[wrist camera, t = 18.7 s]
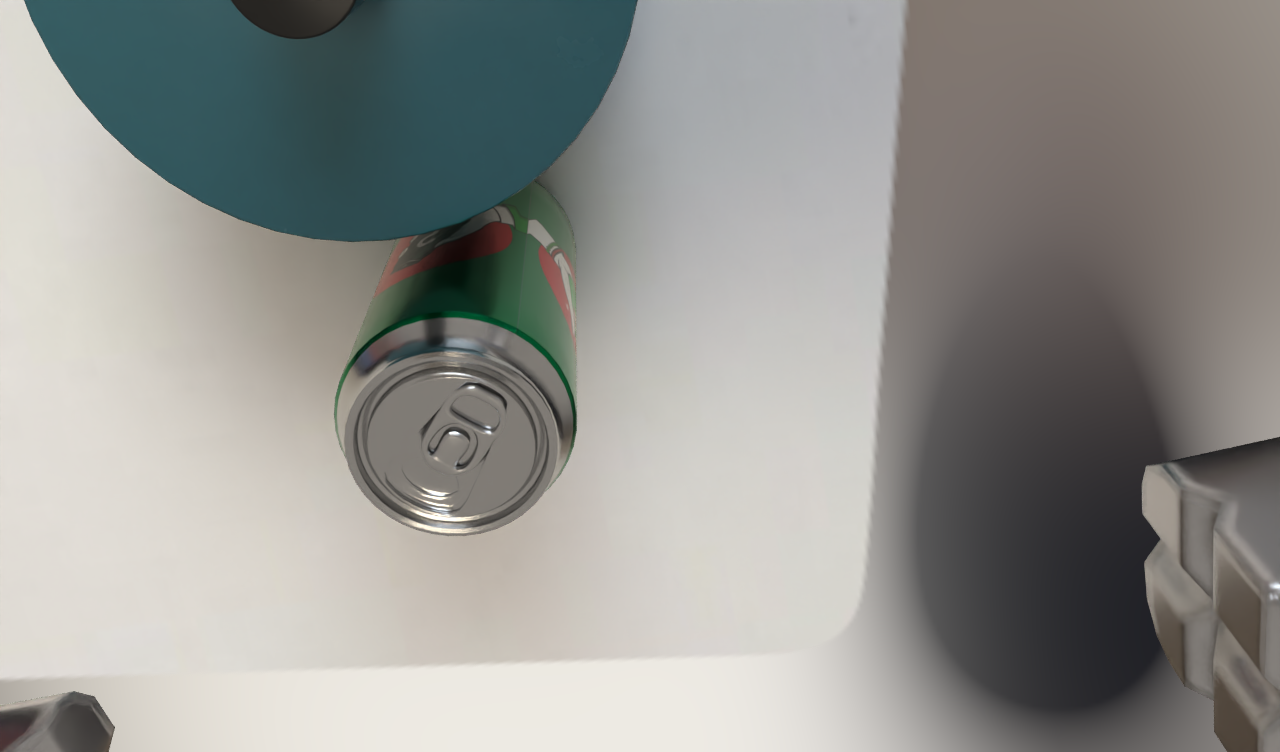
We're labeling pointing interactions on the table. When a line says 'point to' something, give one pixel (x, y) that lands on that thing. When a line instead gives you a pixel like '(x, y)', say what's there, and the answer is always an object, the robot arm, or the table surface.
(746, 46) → the table surface
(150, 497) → the table surface
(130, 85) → the pan lid
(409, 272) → the soda can
